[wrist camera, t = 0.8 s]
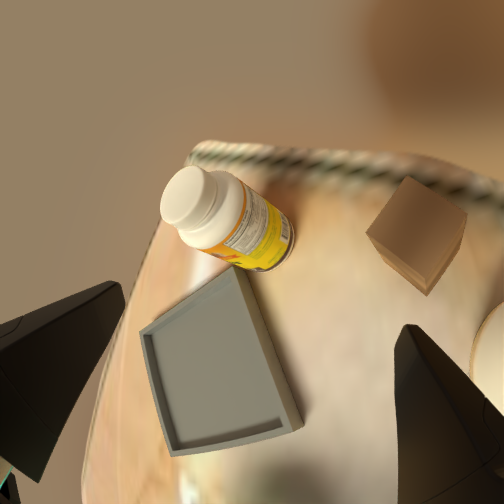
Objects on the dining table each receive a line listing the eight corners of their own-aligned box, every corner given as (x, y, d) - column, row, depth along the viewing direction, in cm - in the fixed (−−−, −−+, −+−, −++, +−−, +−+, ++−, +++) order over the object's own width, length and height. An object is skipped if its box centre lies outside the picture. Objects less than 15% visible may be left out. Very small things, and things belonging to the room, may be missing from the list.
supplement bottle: (232, 250, 27) (142, 208, 19) (268, 202, 26) (189, 142, 18) (267, 288, 24) (170, 254, 16) (310, 235, 23) (230, 172, 15)
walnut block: (459, 249, 16) (467, 213, 11) (426, 296, 16) (425, 278, 12) (416, 217, 18) (406, 175, 14) (384, 261, 19) (365, 232, 14)
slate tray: (304, 426, 18) (293, 431, 17) (184, 453, 23) (170, 456, 22) (245, 271, 26) (232, 265, 24) (152, 333, 31) (139, 331, 29)
